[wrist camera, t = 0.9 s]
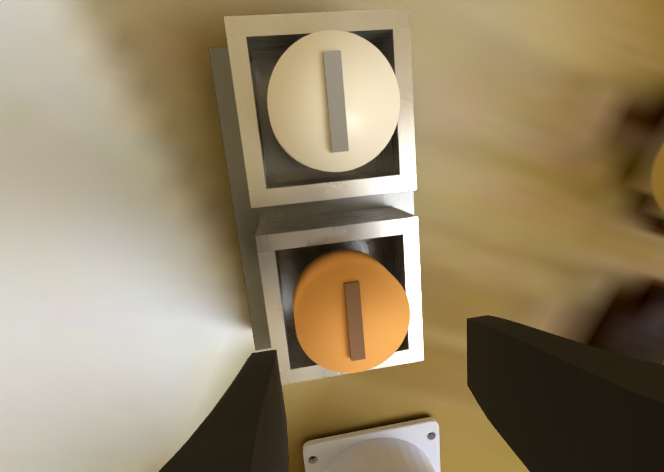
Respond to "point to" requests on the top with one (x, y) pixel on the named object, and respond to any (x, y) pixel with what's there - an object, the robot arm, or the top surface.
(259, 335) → the knob mount
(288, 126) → the cream knob
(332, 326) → the orange knob
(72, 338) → the top surface
